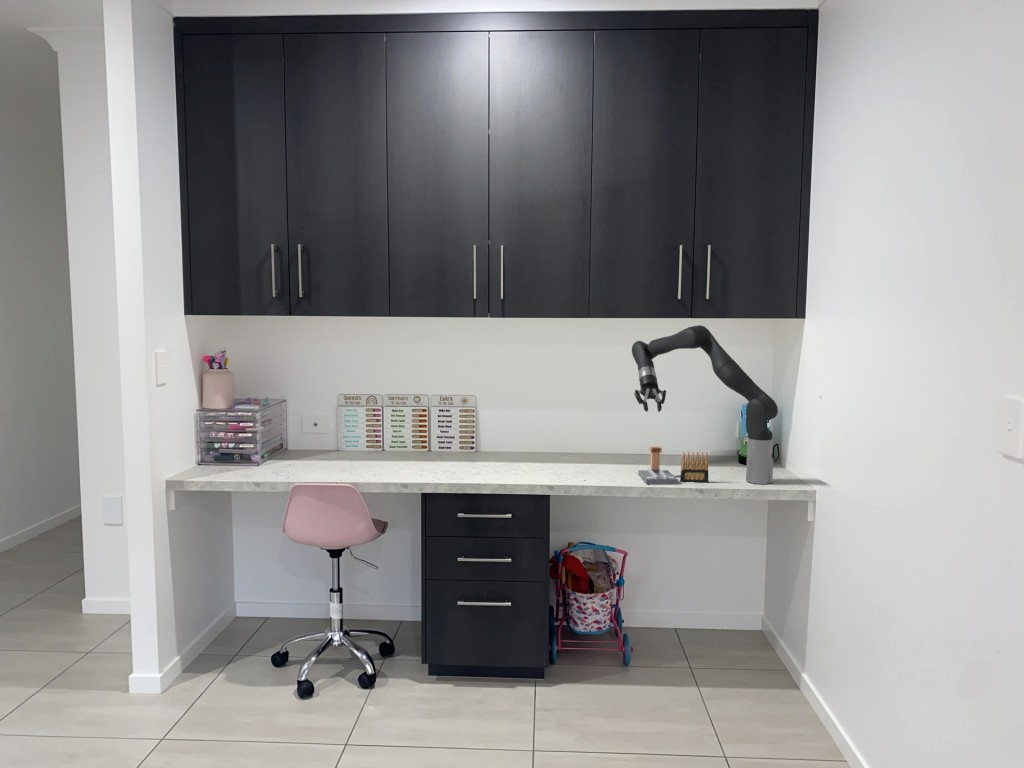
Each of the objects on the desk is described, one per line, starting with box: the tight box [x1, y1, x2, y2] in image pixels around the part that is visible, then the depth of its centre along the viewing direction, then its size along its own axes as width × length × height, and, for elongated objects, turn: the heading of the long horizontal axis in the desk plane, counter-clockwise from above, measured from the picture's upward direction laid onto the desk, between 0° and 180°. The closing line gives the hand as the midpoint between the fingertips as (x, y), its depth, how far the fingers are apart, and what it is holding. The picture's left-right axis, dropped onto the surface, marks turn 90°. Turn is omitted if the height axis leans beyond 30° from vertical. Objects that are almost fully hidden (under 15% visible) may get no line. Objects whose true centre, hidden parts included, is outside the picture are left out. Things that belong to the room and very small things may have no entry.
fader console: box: [638, 467, 679, 485], centre depth 315 cm, size 12×16×3 cm
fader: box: [648, 446, 663, 472], centre depth 319 cm, size 4×3×10 cm
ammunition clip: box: [679, 451, 709, 484], centre depth 311 cm, size 11×2×12 cm, turn 86°
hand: (653, 410), depth 336 cm, fingers open, 4 cm apart
